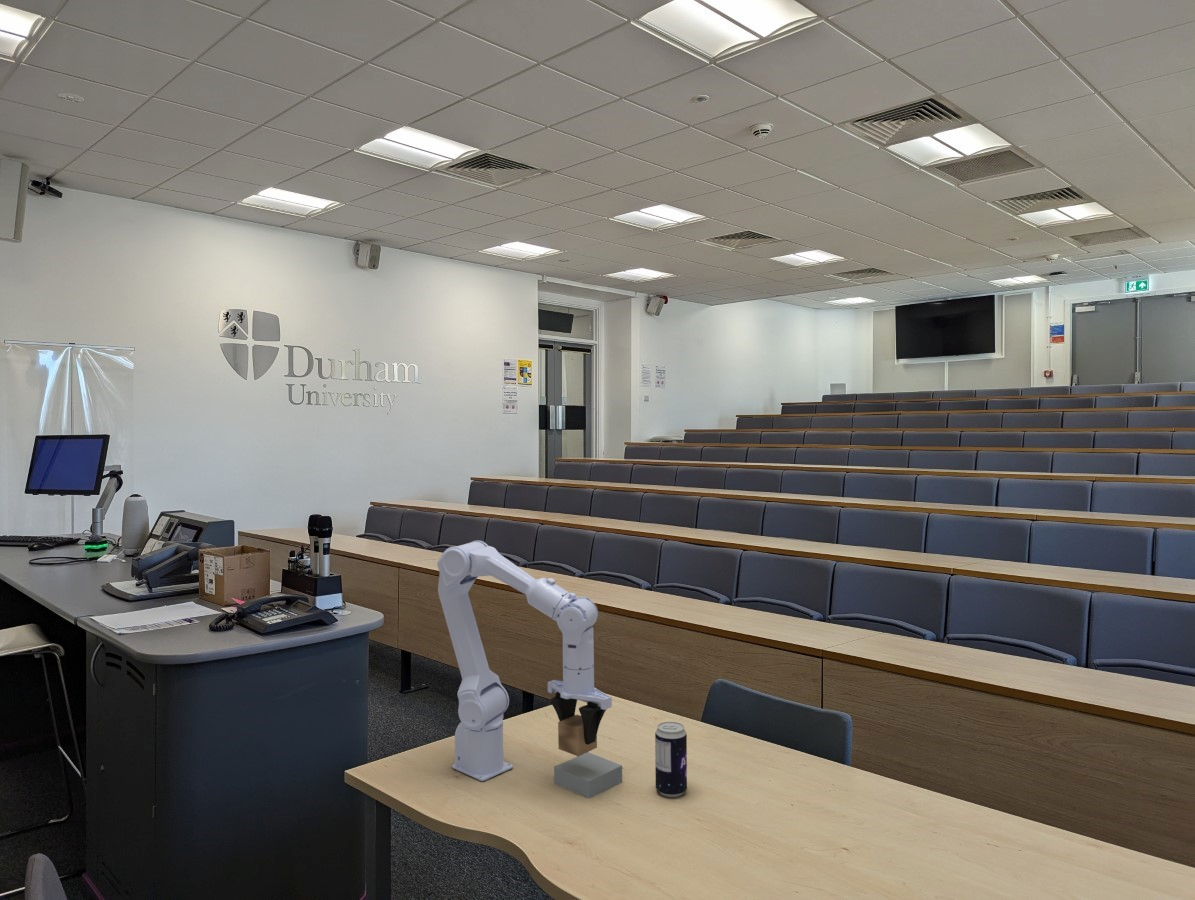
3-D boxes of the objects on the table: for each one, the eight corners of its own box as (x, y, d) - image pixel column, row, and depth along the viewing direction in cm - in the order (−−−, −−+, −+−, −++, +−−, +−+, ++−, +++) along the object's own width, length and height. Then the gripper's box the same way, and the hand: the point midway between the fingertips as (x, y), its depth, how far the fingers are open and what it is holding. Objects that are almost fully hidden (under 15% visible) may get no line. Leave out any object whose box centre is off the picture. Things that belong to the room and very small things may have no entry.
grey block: (554, 785, 146) (554, 766, 146) (587, 769, 153) (587, 752, 152) (588, 800, 140) (588, 781, 140) (622, 783, 146) (622, 765, 146)
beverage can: (685, 800, 139) (685, 733, 138) (653, 797, 140) (653, 731, 140) (688, 786, 144) (687, 721, 144) (657, 783, 145) (657, 719, 145)
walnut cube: (558, 749, 144) (558, 722, 144) (577, 740, 148) (576, 714, 147) (578, 756, 140) (577, 728, 140) (597, 747, 144) (596, 720, 144)
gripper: (535, 662, 146) (536, 734, 146) (592, 678, 136) (593, 756, 136) (562, 654, 151) (562, 724, 151) (619, 669, 141) (619, 743, 142)
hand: (579, 738), depth 144 cm, fingers closed on walnut cube, 5 cm apart
